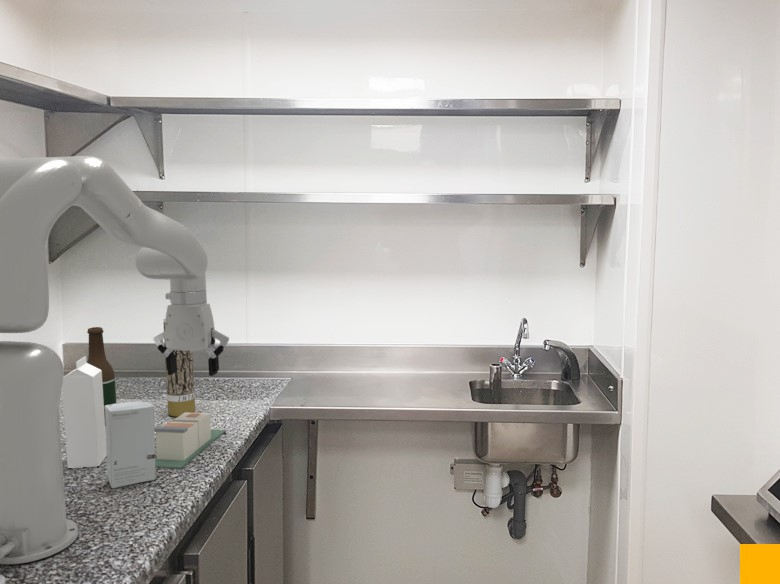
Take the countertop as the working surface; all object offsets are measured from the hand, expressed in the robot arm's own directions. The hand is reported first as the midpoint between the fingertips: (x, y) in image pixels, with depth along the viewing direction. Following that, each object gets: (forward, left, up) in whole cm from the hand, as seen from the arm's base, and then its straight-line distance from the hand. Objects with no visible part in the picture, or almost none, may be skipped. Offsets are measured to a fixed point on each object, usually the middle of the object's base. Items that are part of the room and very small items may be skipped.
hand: (192, 373), depth 140 cm
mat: (-4, 0, -16) cm, 16 cm away
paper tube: (+20, +13, -16) cm, 28 cm away
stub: (-2, 0, -15) cm, 15 cm away
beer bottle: (+11, +30, -16) cm, 36 cm away
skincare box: (-21, +3, -16) cm, 27 cm away
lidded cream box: (-8, 0, -16) cm, 18 cm away
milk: (-14, +17, -16) cm, 27 cm away
